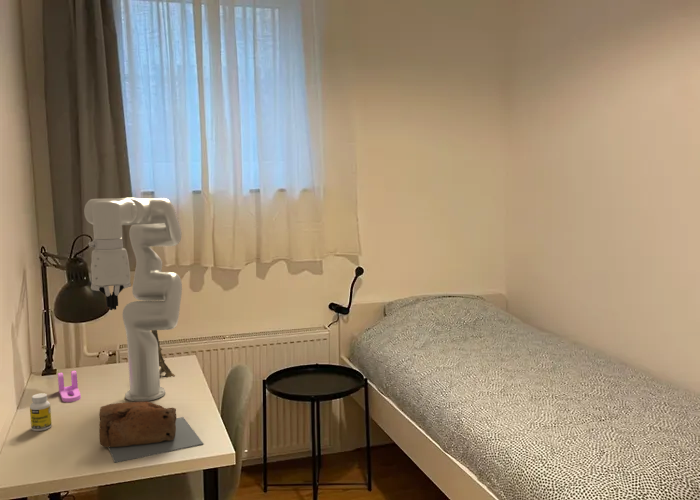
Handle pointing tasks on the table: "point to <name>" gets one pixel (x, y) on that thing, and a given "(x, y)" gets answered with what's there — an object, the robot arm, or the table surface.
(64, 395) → the bracket
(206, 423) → the table surface
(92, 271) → the robot arm
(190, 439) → the mat
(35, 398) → the supplement bottle
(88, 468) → the table surface
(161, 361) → the eiffel tower
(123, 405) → the block
